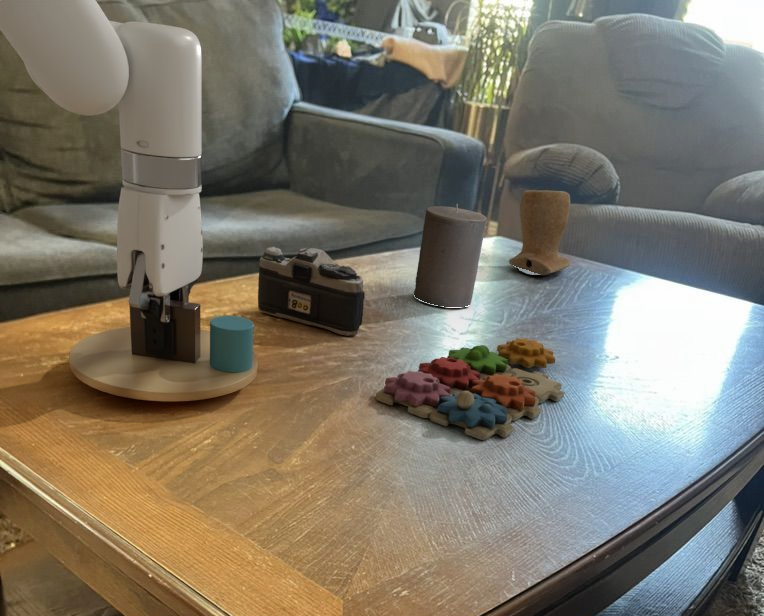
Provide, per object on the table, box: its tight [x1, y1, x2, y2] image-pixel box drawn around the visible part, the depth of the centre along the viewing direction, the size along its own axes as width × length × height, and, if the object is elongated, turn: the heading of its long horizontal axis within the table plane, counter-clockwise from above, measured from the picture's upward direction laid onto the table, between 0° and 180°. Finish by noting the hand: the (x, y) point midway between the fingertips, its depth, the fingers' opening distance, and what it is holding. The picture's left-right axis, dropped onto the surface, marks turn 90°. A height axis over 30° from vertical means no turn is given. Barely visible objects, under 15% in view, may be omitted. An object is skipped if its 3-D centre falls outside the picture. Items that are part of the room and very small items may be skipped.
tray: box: [68, 297, 259, 402], centre depth 84 cm, size 20×20×7 cm
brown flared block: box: [508, 189, 572, 276], centre depth 150 cm, size 15×12×15 cm
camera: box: [257, 245, 366, 337], centre depth 109 cm, size 16×10×10 cm, turn 65°
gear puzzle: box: [374, 337, 565, 441], centre depth 96 cm, size 31×16×4 cm, turn 146°
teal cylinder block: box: [209, 315, 255, 373], centre depth 84 cm, size 5×5×5 cm
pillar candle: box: [413, 203, 488, 307], centre depth 123 cm, size 10×10×15 cm
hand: (166, 350), depth 85 cm, fingers closed on tray, 2 cm apart
